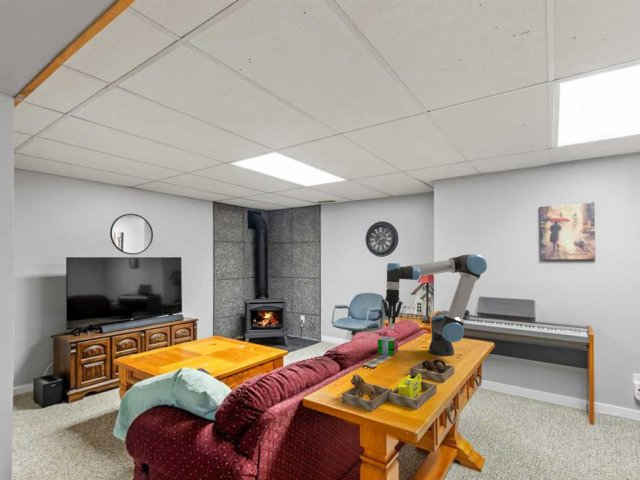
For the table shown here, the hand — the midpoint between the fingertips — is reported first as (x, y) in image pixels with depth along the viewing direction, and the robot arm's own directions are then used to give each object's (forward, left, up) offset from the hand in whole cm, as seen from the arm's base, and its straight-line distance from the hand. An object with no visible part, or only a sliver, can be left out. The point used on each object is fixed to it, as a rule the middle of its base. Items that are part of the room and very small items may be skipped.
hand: (391, 328), depth 202 cm
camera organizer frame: (-32, +45, -18) cm, 58 cm away
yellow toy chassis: (-31, +45, -18) cm, 57 cm away
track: (+3, +12, -18) cm, 22 cm away
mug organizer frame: (-28, +11, -18) cm, 35 cm away
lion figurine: (-17, +61, -18) cm, 65 cm away
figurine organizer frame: (-18, +60, -18) cm, 65 cm away
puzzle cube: (+6, -7, -18) cm, 20 cm away
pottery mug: (-28, +9, -18) cm, 35 cm away
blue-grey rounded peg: (+3, +3, -16) cm, 17 cm away
